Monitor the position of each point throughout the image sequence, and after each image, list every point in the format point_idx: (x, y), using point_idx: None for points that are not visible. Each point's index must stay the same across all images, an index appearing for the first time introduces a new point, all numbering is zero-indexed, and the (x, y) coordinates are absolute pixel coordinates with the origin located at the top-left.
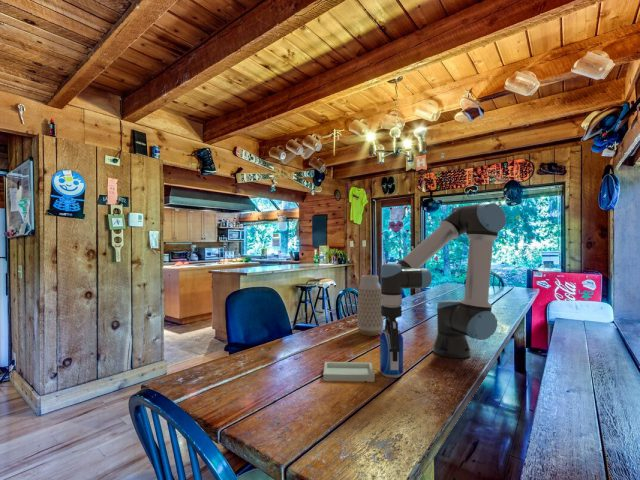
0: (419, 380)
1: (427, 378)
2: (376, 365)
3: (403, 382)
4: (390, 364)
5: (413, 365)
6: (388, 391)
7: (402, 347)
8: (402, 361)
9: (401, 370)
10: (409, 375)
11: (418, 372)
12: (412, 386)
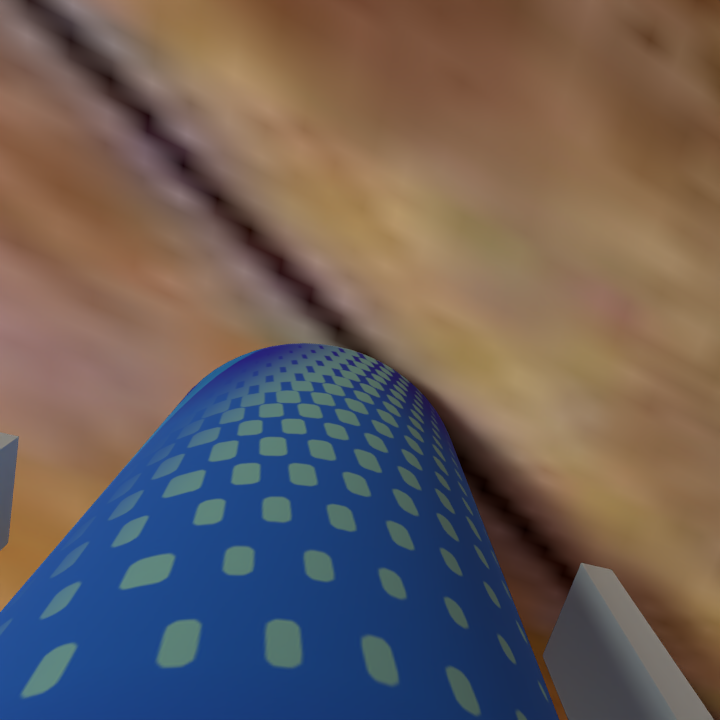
0: (574, 212)
1: (549, 62)
2: (14, 536)
3: (566, 430)
4: (566, 714)
5: (39, 21)
6: (706, 647)
7: (494, 654)
8: (438, 457)
9: (440, 426)
10: (394, 268)
11: (321, 85)
12: (695, 378)
